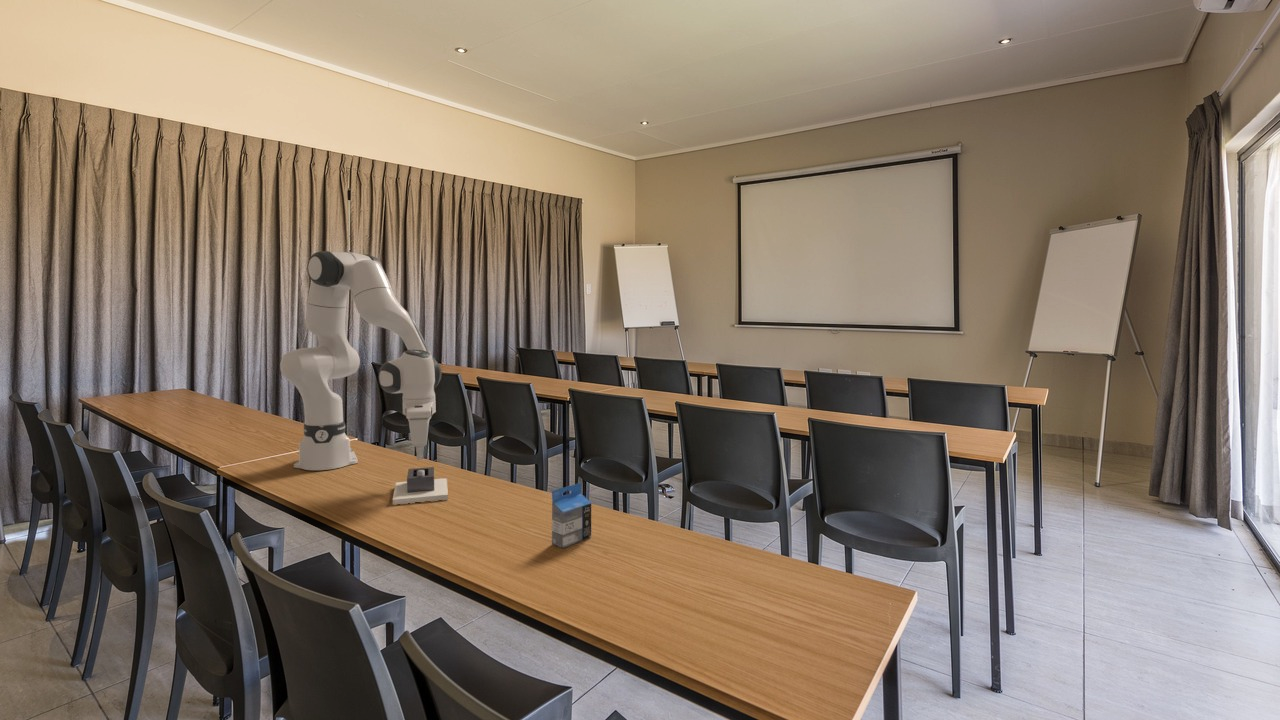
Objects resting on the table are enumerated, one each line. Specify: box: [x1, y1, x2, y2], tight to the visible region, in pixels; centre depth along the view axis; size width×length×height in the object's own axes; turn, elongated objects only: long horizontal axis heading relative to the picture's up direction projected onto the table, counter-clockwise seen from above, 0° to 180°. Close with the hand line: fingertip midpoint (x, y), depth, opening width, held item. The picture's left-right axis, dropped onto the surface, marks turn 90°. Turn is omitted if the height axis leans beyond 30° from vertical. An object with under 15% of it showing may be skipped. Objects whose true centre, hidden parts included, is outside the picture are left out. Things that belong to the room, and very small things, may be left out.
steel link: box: [406, 466, 435, 493], centre depth 171 cm, size 10×7×4 cm
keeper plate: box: [392, 470, 449, 506], centre depth 170 cm, size 16×14×6 cm
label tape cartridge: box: [551, 482, 592, 549], centre depth 137 cm, size 9×4×12 cm, turn 138°
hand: (420, 454), depth 173 cm, fingers open, 8 cm apart
